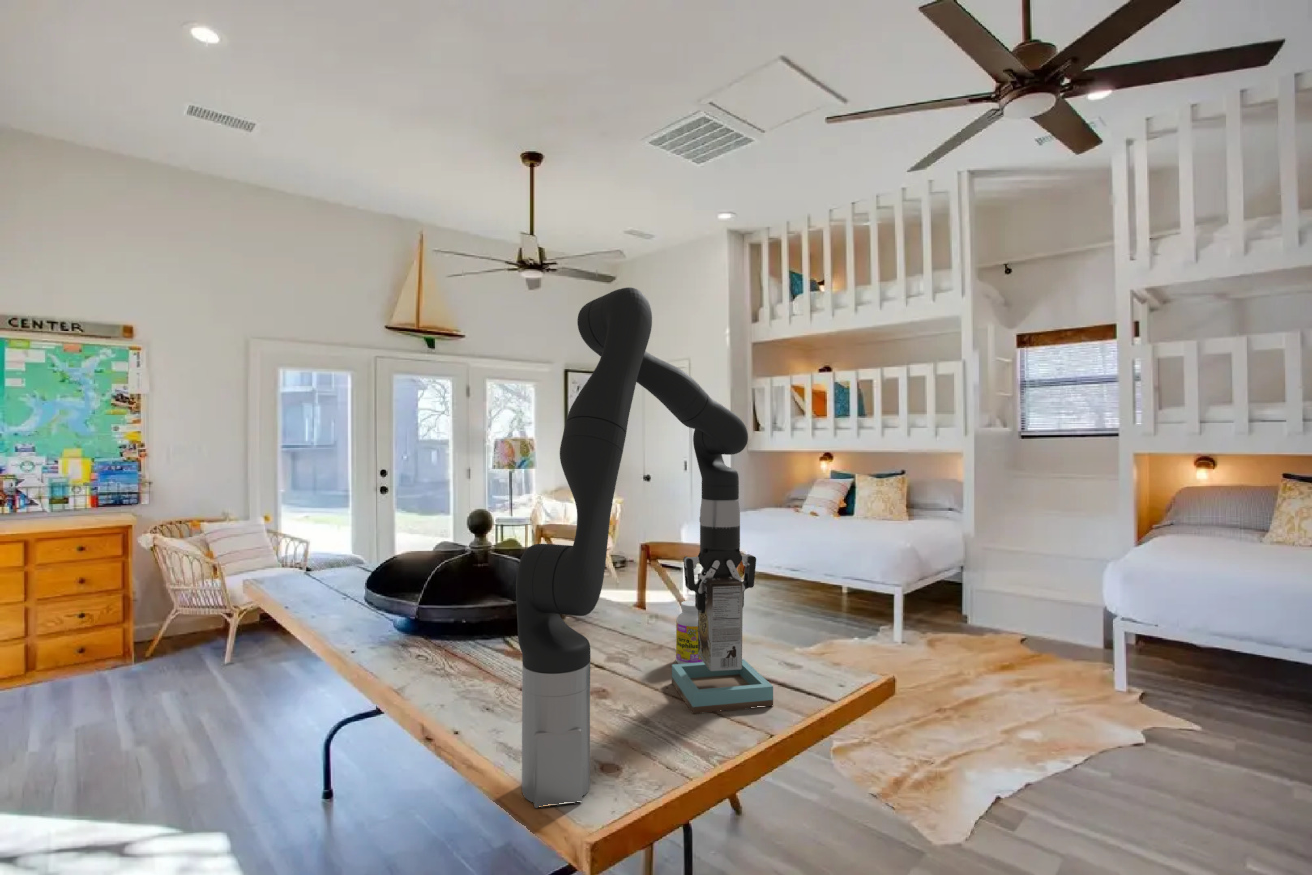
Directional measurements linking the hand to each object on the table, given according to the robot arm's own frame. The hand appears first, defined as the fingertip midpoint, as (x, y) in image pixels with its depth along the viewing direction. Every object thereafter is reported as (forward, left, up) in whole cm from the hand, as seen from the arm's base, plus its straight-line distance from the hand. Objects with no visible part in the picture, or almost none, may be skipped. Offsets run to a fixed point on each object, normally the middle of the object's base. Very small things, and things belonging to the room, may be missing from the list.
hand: (719, 611), depth 123 cm
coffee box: (0, 0, -10) cm, 10 cm away
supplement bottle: (+18, 0, -16) cm, 24 cm away
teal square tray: (0, 0, -16) cm, 16 cm away
